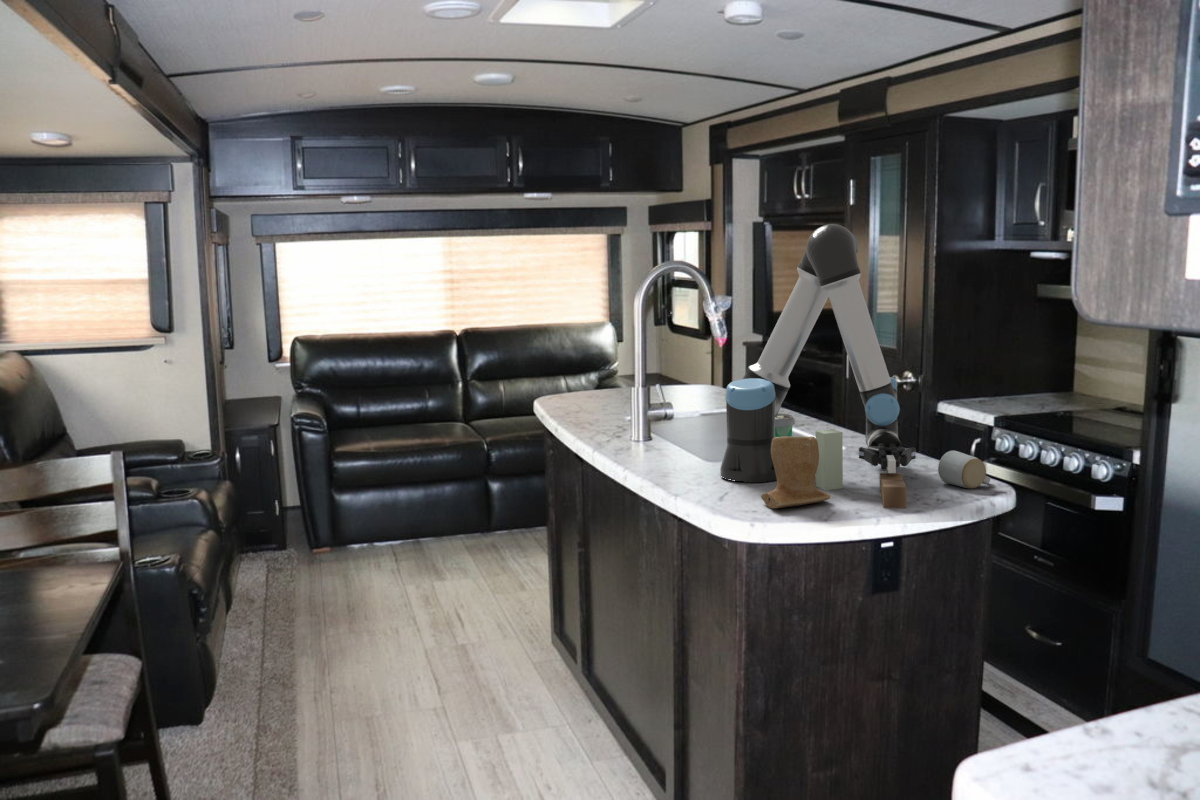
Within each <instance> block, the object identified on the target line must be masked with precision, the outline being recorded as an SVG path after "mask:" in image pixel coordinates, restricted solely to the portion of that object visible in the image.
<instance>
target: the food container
mask: <svg viewBox="0 0 1200 800" xmlns="http://www.w3.org/2000/svg"><path fill="white" fill-rule="evenodd" d="M795 421H796V420H795V418H794V415H793V414H789V413H780V412H778V414H777V415H776V416H775V437H792V436H793V425H795V424H796V422H795Z"/></svg>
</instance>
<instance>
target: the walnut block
mask: <svg viewBox="0 0 1200 800" xmlns="http://www.w3.org/2000/svg"><path fill="white" fill-rule="evenodd" d="M879 496H880V499H881V500H880V501H881V503H882V507H883V509H907V486H906V483H905V481H904V479H903V476H902V473H900V472H896V473H888V472H879Z"/></svg>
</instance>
